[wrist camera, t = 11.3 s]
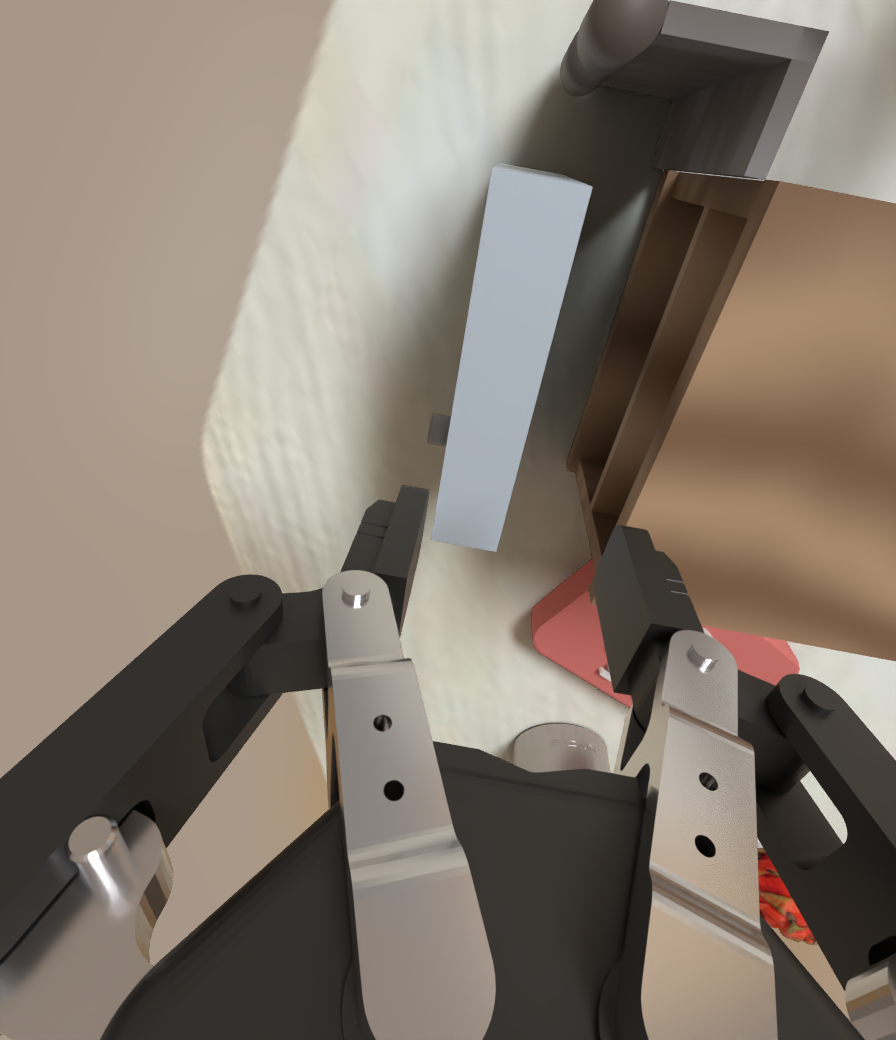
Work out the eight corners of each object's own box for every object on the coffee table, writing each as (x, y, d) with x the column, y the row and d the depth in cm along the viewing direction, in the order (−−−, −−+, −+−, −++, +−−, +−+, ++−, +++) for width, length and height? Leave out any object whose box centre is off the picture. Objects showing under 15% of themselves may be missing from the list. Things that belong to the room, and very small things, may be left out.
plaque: (854, 660, 37) (680, 745, 44) (827, 620, 40) (669, 706, 47) (682, 526, 32) (520, 648, 39) (667, 493, 35) (520, 611, 42)
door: (561, 174, 25) (592, 186, 15) (501, 434, 33) (496, 552, 23) (475, 158, 25) (451, 160, 15) (436, 423, 33) (404, 535, 23)
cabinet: (777, 502, 34) (897, 661, 23) (478, 446, 34) (463, 580, 23) (1016, 128, 22) (1470, 105, 12) (565, 40, 22) (613, -63, 12)
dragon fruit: (810, 860, 63) (718, 820, 63) (873, 885, 55) (767, 839, 55) (799, 939, 60) (703, 897, 60) (863, 978, 52) (752, 930, 52)
